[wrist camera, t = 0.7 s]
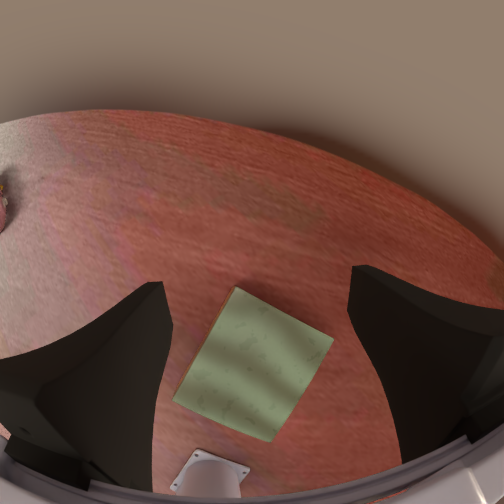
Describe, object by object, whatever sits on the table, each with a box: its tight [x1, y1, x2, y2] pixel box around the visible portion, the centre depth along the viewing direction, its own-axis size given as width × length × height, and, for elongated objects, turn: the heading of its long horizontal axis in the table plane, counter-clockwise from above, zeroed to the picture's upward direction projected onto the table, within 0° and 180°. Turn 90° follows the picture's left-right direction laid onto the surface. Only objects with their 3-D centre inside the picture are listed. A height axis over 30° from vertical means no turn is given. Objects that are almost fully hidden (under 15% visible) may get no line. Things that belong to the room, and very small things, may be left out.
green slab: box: [172, 286, 334, 443], centre depth 29 cm, size 14×12×4 cm
